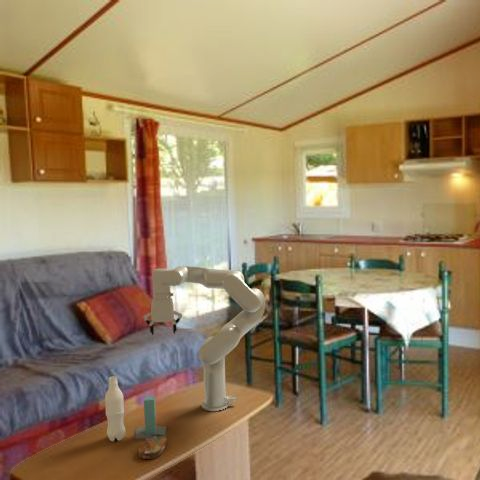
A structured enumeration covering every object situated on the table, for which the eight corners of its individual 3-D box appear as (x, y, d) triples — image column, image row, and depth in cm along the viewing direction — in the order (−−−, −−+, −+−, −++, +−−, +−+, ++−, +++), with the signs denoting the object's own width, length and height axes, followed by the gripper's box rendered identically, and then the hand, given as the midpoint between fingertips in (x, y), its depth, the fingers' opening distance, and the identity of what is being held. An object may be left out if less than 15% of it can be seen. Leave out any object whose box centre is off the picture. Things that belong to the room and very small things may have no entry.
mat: (166, 427, 219) (166, 425, 219) (165, 437, 210) (165, 435, 210) (137, 429, 218) (137, 427, 218) (134, 439, 209) (134, 438, 209)
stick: (155, 433, 212) (153, 399, 211) (145, 434, 212) (143, 400, 210) (156, 429, 216) (154, 396, 215) (146, 429, 216) (144, 396, 214)
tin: (149, 433, 208) (169, 433, 206) (150, 441, 208) (170, 441, 206) (134, 452, 193) (156, 452, 191) (135, 460, 193) (157, 460, 191)
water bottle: (119, 432, 215) (116, 373, 213) (129, 438, 210) (125, 377, 208) (103, 438, 210) (100, 377, 208) (113, 444, 205) (109, 382, 203)
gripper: (181, 293, 241) (183, 330, 243) (143, 295, 240) (144, 332, 242) (181, 296, 234) (182, 334, 236) (141, 298, 233) (143, 336, 234)
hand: (163, 333), depth 239 cm, fingers open, 9 cm apart
